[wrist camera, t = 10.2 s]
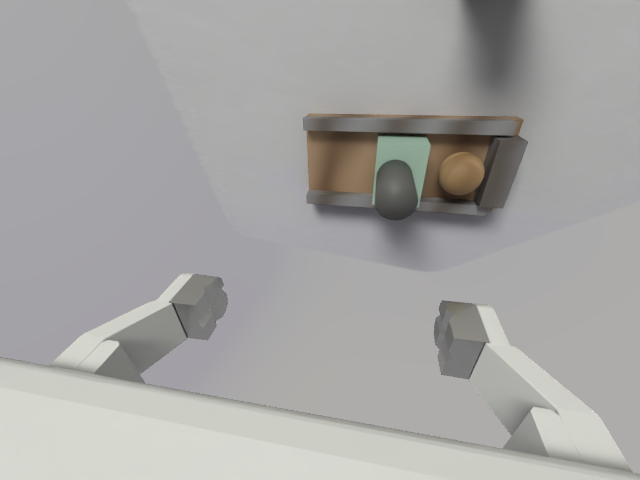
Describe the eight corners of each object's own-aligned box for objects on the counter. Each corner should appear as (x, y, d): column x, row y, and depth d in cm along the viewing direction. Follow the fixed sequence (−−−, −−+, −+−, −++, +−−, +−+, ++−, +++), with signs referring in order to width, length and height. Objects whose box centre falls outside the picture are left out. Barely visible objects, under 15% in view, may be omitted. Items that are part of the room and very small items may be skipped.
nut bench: (517, 116, 29) (534, 124, 26) (487, 204, 35) (498, 220, 31) (309, 113, 33) (300, 120, 29) (311, 193, 38) (305, 206, 35)
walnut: (483, 147, 30) (496, 160, 26) (471, 186, 32) (482, 203, 29) (439, 146, 31) (446, 158, 27) (431, 184, 33) (437, 200, 29)
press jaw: (425, 135, 30) (441, 165, 22) (415, 192, 34) (425, 237, 26) (378, 134, 31) (375, 162, 23) (373, 190, 35) (369, 232, 26)
